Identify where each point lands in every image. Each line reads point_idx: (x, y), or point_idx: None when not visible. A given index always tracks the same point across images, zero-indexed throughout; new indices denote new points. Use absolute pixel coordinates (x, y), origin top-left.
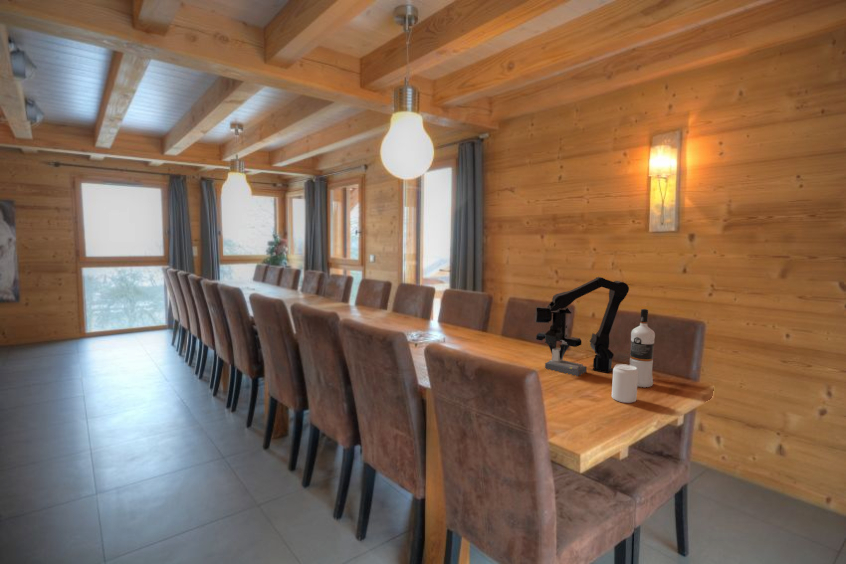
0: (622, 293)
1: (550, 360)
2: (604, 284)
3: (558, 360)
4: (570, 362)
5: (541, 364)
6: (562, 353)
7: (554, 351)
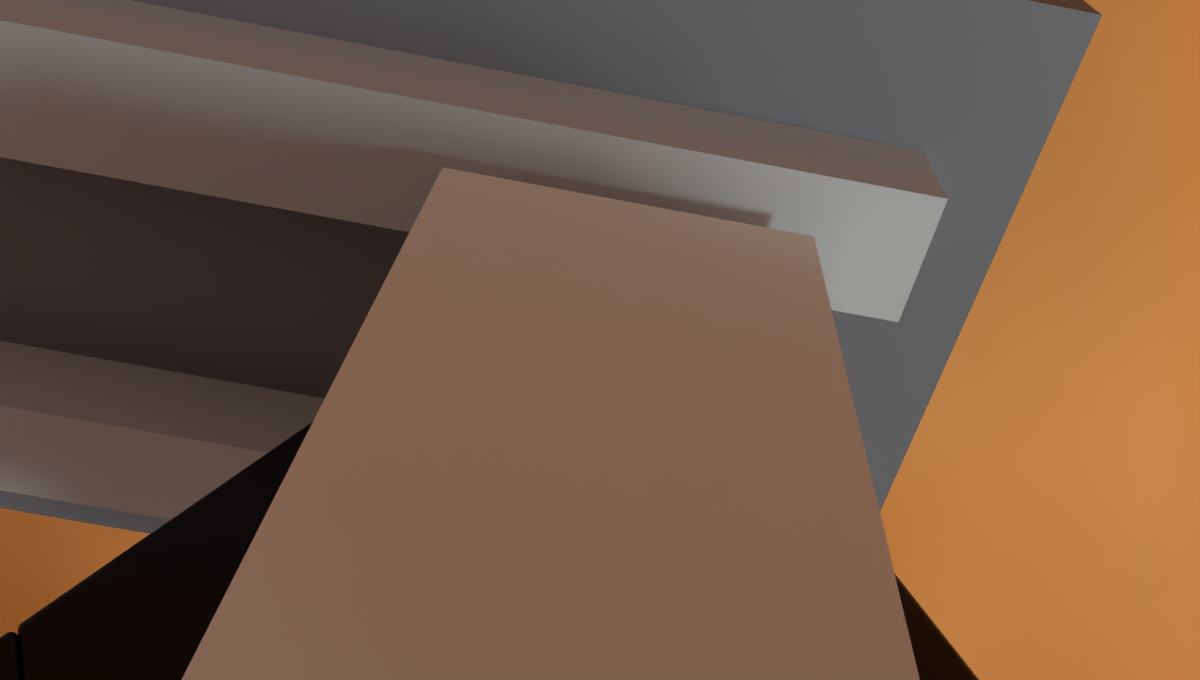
0: None
1: (880, 248)
2: None
3: (425, 225)
4: (42, 424)
5: (1196, 375)
6: (67, 595)
7: (669, 609)
